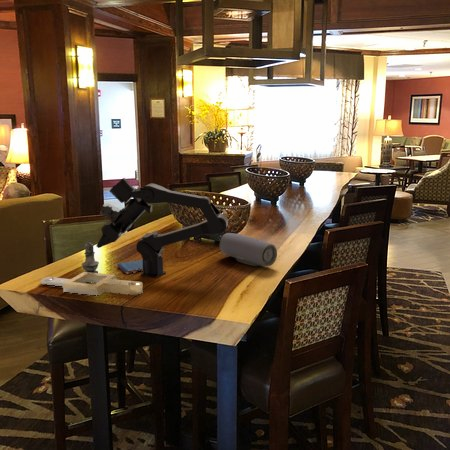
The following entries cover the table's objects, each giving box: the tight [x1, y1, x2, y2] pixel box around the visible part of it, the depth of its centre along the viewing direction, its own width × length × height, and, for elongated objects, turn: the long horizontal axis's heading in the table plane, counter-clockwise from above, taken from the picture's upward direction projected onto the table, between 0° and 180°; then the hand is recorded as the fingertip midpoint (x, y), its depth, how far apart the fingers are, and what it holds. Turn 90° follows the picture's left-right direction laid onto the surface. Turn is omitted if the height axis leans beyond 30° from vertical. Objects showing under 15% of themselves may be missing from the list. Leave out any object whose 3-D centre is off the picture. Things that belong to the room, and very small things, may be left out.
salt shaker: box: [81, 239, 100, 273], centre depth 171 cm, size 6×6×12 cm
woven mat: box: [116, 259, 143, 275], centre depth 178 cm, size 10×11×2 cm
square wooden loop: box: [62, 271, 144, 296], centre depth 156 cm, size 24×12×3 cm, turn 74°
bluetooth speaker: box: [219, 232, 278, 267], centre depth 183 cm, size 23×9×10 cm, turn 41°
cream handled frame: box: [40, 276, 105, 297], centre depth 159 cm, size 24×12×2 cm, turn 74°
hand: (101, 243), depth 170 cm, fingers open, 9 cm apart
